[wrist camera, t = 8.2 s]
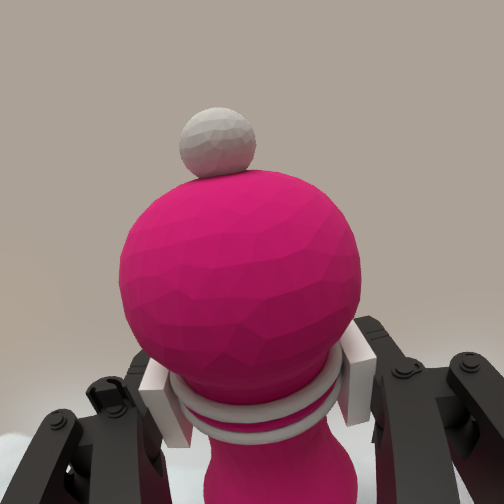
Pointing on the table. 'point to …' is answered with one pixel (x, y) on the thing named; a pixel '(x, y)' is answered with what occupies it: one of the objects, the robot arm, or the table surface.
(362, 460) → the table surface
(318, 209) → the pepper mill
